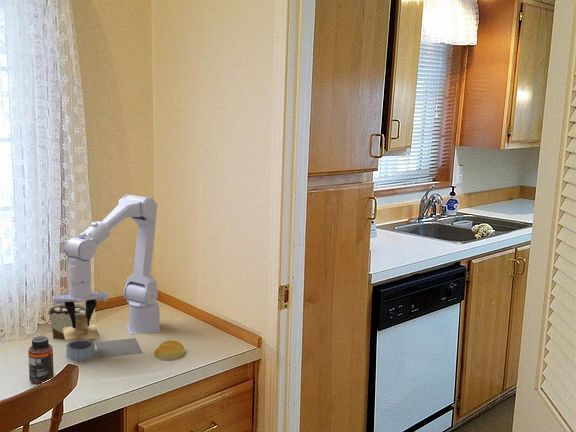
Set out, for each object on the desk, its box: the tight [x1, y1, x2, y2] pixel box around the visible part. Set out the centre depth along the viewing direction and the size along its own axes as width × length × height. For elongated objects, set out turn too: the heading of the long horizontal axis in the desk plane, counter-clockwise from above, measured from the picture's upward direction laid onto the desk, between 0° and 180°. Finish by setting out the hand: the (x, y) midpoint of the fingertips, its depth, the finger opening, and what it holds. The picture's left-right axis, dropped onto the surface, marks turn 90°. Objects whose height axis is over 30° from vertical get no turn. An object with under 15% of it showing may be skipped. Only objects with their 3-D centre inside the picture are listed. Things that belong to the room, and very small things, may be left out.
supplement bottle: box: [27, 335, 55, 385], centre depth 158 cm, size 6×6×11 cm
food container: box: [47, 303, 86, 341], centre depth 187 cm, size 12×6×10 cm, turn 84°
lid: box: [63, 312, 100, 343], centre depth 173 cm, size 9×9×5 cm
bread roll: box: [153, 339, 186, 361], centre depth 178 cm, size 8×9×4 cm
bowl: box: [65, 339, 96, 362], centre depth 174 cm, size 8×8×4 cm
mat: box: [94, 337, 144, 359], centre depth 181 cm, size 12×12×1 cm
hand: (80, 326), depth 173 cm, fingers closed on lid, 3 cm apart
